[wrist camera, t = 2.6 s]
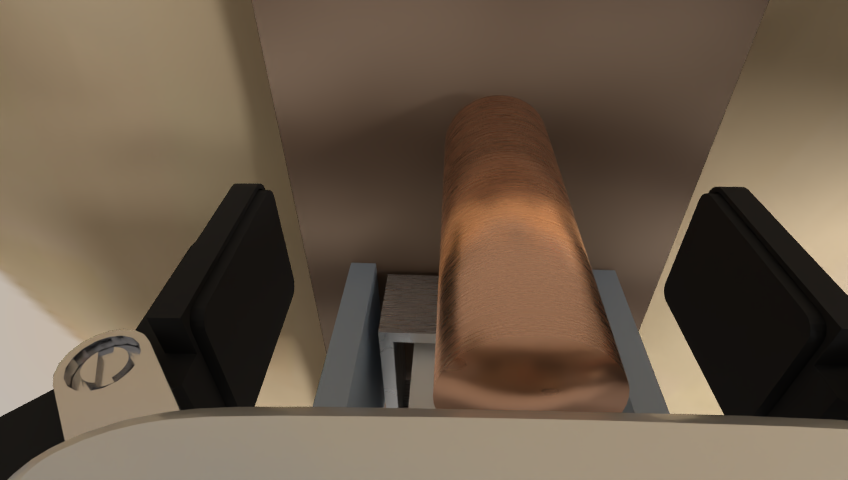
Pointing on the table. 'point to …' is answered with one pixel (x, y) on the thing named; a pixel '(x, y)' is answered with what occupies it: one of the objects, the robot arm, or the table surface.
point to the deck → (484, 76)
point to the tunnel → (361, 361)
